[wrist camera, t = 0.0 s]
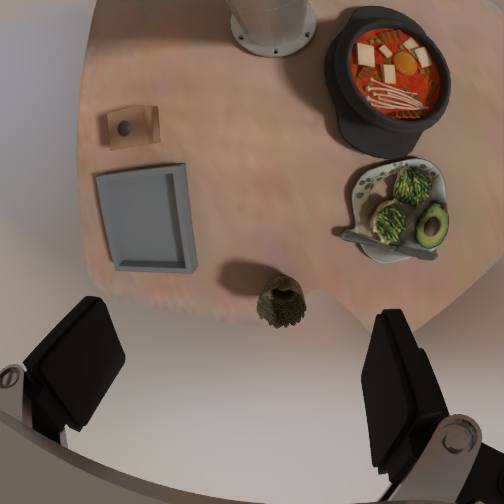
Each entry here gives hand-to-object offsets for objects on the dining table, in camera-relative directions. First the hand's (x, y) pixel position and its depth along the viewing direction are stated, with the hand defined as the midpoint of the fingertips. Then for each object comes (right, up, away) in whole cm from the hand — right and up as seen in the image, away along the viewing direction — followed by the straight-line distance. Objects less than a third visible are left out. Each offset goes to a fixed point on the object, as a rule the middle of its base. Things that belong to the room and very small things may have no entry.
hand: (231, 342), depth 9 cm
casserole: (+20, +29, +25) cm, 43 cm away
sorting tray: (-17, +9, +39) cm, 44 cm away
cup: (+6, -2, +41) cm, 42 cm away
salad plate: (+25, +10, +33) cm, 43 cm away
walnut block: (-17, +23, +33) cm, 44 cm away
